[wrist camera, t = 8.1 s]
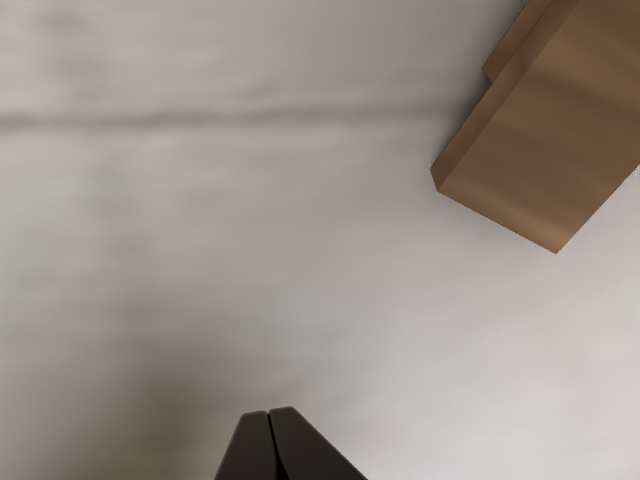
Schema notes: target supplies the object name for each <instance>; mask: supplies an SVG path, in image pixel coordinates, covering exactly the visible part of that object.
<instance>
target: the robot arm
mask: <svg viewBox="0 0 640 480" xmlns="http://www.w3.org/2000/svg"><path fill="white" fill-rule="evenodd" d="M214 480H368V479H367V478H366V477H365V476H364V475H363V474H362V473H361V472H360V471H358V470H357V469H356V468H355V467H354V466H353V465H352V464H351V463H350V462H349V461H348V460H347V459H346V458H345V457H344V456H343V455H342V454H341V453H340V452H339V451H338V450H337V449H336V448H335V447H334V446H333V445H332V444H331V443H330V442H329V441H328V440H327V439H326V438H324V437H323V436H322V435H321V434H320V433H319V432H318V431H317V430H316V429H315V428H314V427H313V426H312V425H311V424H310V423H309V422H308V421H307V420H306V419H305V418H304V417H303V416H302V415H301V414H300V413H299V412H298V411H297V410H296V409H295V408H293V407H291V406H288V407H282V408H275V409H271V410H269V412H268V414H267V412H266V411H256V412H250V413H244V414H243V415H242V416H241V417H240V420H239V422H238V424H237V426H236V429H235V431H234V433H233V436H232V438H231V440H230V443H229V445H228V447H227V450H226V452H225V454H224V457H223V459H222V461H221V464H220V466H219V468H218V471H217V473H216V475H215V478H214Z"/></svg>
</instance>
